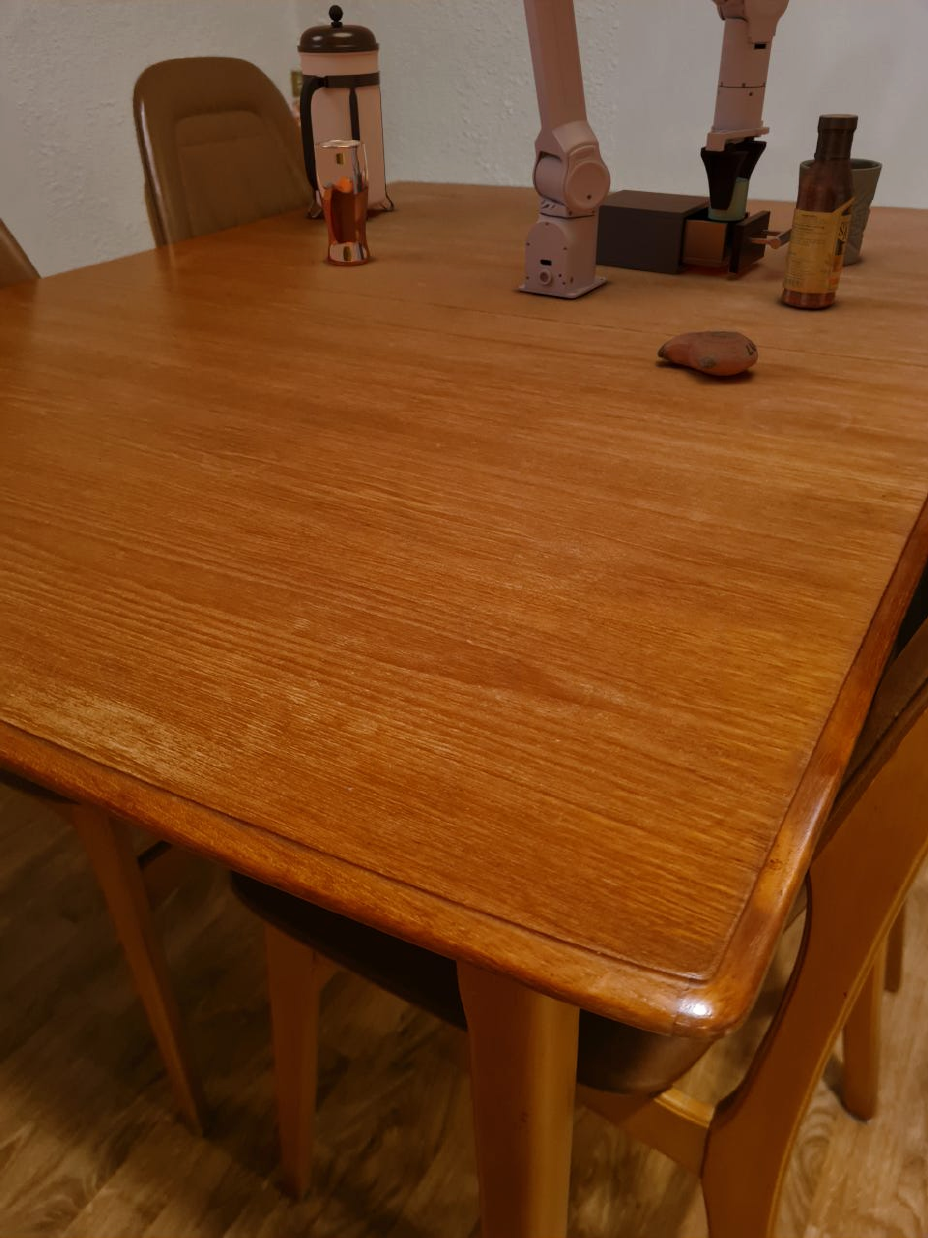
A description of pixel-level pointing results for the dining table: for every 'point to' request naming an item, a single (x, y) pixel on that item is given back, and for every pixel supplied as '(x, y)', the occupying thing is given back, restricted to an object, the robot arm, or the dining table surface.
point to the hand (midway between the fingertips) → (726, 205)
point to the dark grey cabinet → (644, 229)
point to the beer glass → (344, 199)
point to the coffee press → (342, 98)
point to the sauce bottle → (822, 217)
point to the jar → (733, 203)
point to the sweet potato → (711, 351)
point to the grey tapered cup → (856, 201)
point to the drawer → (728, 240)
